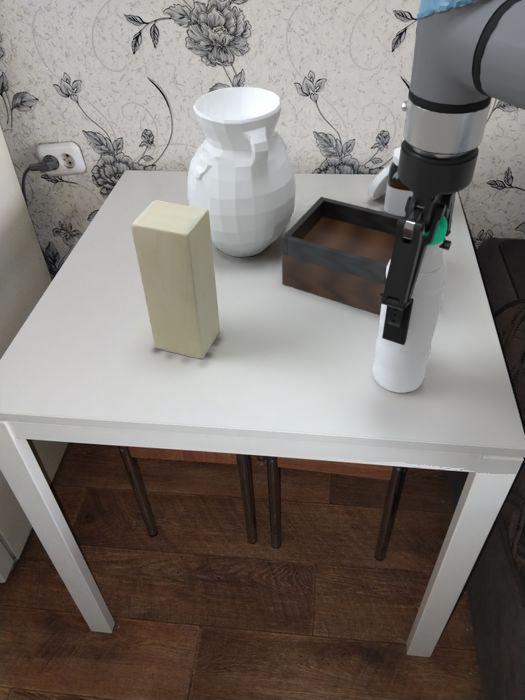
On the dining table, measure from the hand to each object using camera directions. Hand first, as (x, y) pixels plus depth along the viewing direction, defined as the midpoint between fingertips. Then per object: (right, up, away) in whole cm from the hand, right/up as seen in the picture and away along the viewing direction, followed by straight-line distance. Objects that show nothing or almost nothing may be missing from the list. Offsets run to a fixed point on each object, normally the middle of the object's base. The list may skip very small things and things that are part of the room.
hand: (408, 314), depth 74 cm
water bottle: (0, -8, +8) cm, 11 cm away
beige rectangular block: (-29, -3, +15) cm, 33 cm away
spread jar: (+7, +23, +40) cm, 46 cm away
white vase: (-21, +15, +33) cm, 42 cm away
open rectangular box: (-4, +8, +24) cm, 26 cm away
